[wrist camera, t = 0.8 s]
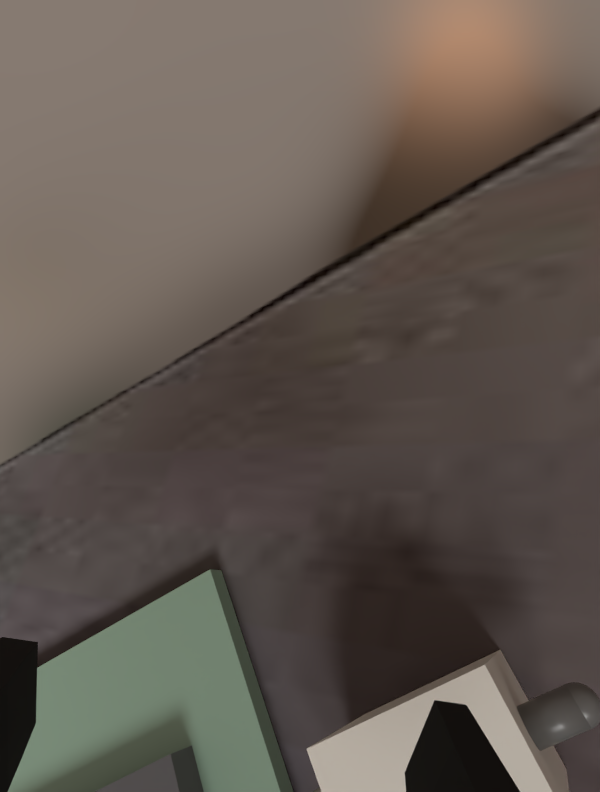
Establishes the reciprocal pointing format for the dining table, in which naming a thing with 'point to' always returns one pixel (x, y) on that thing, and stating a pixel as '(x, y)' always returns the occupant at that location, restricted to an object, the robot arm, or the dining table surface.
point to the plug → (494, 712)
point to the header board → (155, 706)
